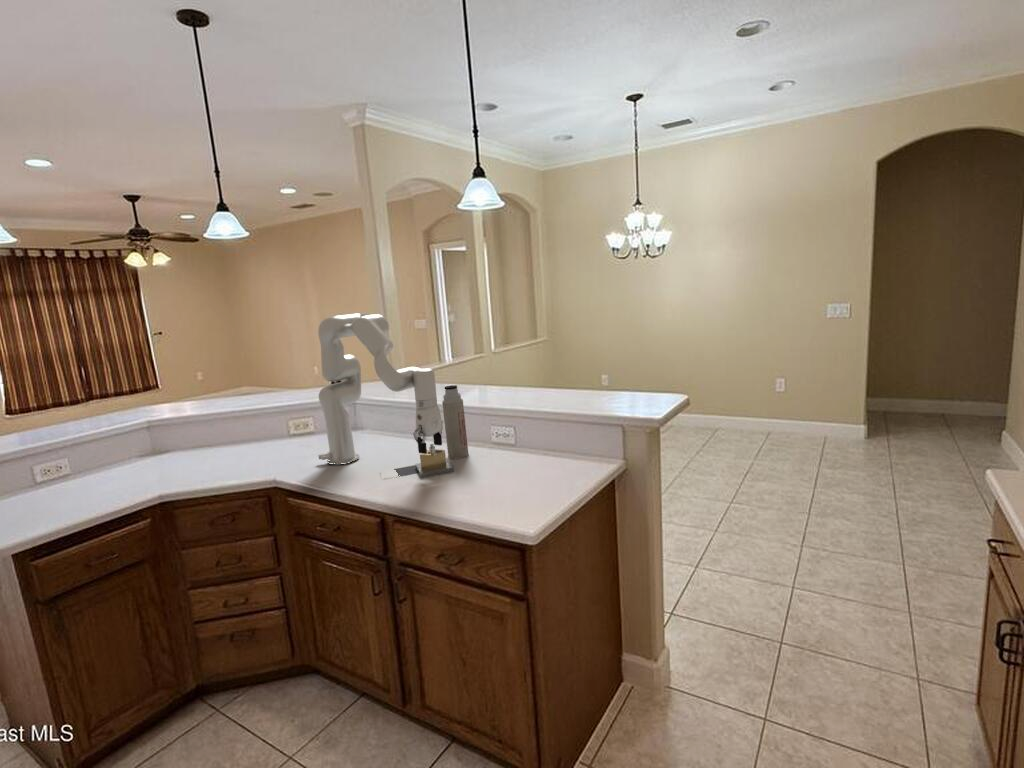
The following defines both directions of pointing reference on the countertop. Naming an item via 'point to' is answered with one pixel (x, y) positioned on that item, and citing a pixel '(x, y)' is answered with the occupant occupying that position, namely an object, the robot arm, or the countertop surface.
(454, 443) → the thermos bottle
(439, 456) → the collar
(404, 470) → the mat
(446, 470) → the grey peg stand
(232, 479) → the countertop surface
